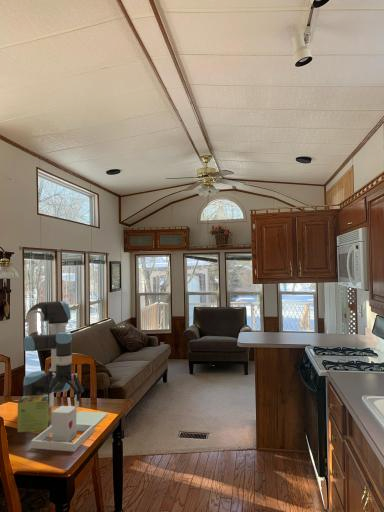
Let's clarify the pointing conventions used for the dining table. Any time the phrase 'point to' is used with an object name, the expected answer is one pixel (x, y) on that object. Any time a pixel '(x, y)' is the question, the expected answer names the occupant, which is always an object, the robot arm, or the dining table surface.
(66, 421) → the supplement box
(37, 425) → the protein box
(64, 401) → the dining table surface
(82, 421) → the pad
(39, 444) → the bin
